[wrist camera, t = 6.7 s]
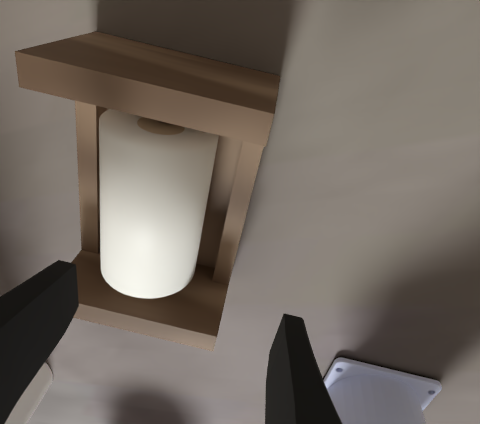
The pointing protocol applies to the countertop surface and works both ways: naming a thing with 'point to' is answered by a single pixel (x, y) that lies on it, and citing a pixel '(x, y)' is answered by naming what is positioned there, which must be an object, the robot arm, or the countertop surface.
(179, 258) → the roll
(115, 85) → the holder
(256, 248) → the countertop surface
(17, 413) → the cylindrical container
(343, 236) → the countertop surface
